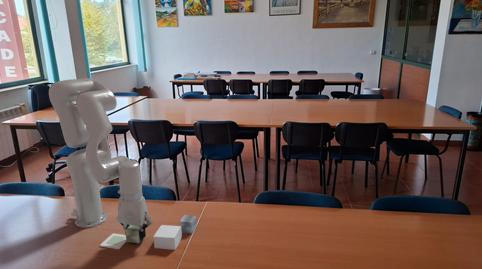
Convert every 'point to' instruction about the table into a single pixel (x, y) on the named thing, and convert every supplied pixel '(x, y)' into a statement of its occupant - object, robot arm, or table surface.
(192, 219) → the slate block
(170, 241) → the grey base block
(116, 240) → the card
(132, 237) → the sage block
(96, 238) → the table surface
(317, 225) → the table surface
